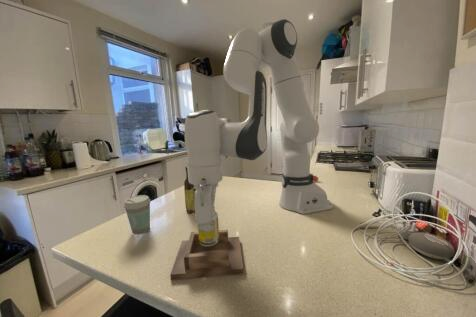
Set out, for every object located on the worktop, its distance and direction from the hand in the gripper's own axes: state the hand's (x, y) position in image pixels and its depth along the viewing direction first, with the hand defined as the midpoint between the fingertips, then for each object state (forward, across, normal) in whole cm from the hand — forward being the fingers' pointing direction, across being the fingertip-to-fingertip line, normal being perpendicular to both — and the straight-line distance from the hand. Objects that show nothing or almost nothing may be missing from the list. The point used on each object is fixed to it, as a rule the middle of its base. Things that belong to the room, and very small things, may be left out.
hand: (208, 222), depth 55 cm
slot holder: (+11, 0, 0) cm, 11 cm away
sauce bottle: (+11, +31, +10) cm, 34 cm away
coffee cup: (+11, +18, +26) cm, 34 cm away
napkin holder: (+12, +64, -52) cm, 83 cm away
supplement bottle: (+6, 0, 0) cm, 6 cm away
